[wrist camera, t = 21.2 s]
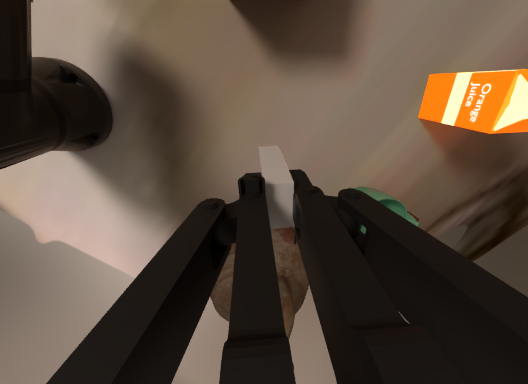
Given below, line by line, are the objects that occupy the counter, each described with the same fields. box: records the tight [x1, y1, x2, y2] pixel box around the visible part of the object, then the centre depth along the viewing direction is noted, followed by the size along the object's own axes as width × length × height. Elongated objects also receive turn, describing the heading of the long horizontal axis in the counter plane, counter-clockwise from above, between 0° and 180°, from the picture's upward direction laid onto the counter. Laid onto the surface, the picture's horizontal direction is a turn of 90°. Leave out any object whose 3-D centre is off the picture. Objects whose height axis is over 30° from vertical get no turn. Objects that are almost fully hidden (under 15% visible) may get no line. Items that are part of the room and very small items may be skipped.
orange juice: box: [418, 69, 528, 134], centre depth 32 cm, size 8×9×20 cm
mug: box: [355, 187, 419, 234], centre depth 46 cm, size 15×10×10 cm
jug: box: [210, 227, 309, 369], centre depth 41 cm, size 22×22×30 cm
